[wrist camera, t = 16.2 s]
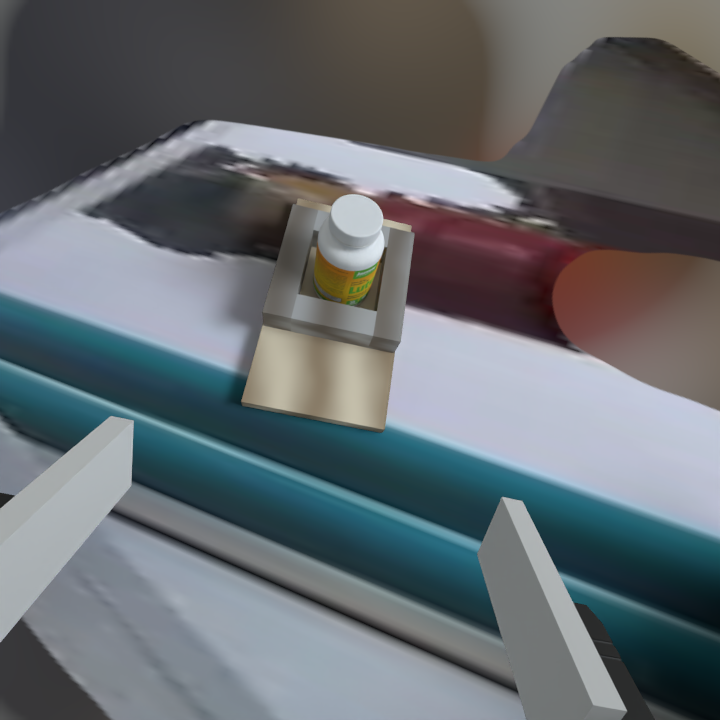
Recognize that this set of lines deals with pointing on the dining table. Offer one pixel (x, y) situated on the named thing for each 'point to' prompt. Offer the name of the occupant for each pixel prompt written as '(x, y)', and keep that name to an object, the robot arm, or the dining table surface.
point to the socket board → (321, 370)
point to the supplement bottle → (348, 250)
